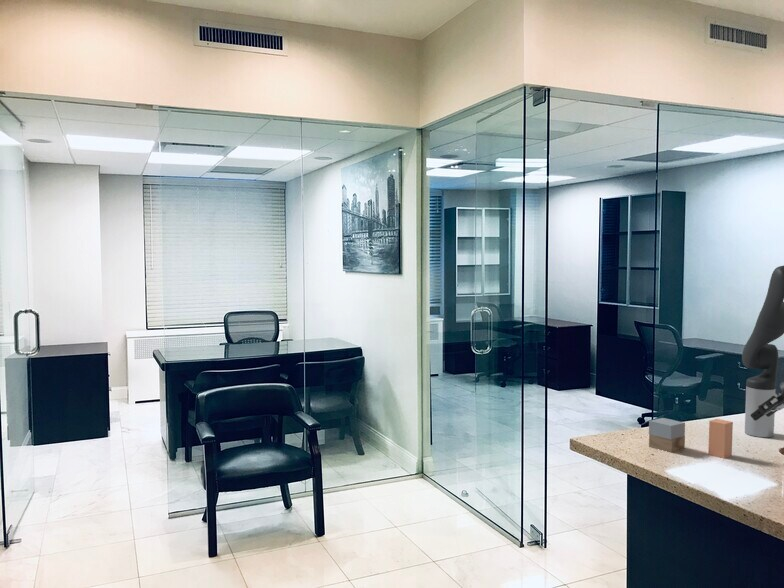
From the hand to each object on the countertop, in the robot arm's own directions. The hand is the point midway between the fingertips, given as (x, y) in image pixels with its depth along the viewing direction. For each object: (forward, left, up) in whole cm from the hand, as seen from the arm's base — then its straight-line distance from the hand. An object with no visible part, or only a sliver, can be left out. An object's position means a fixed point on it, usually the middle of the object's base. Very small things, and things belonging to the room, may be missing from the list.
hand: (759, 416), depth 192 cm
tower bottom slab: (-5, -26, -15) cm, 31 cm away
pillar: (-5, -10, -15) cm, 19 cm away
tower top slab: (-5, -26, -11) cm, 29 cm away
